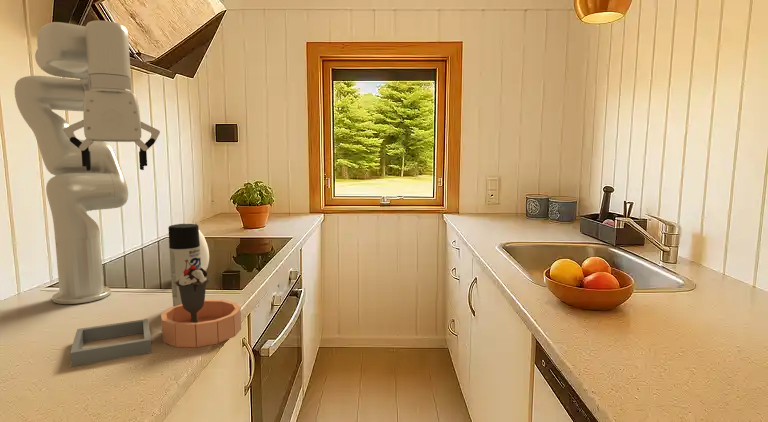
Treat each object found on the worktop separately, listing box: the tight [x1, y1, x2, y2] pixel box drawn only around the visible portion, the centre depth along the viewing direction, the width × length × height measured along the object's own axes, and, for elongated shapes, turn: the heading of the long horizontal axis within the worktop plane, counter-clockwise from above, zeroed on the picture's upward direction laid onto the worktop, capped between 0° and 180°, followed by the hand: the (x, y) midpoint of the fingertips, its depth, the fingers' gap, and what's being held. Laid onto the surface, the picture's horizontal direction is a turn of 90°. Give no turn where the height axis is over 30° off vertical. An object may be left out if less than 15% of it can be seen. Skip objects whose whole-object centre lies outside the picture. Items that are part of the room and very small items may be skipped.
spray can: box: [167, 223, 201, 307], centre depth 112 cm, size 7×7×20 cm
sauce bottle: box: [192, 217, 210, 272], centre depth 139 cm, size 8×8×18 cm
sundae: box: [175, 260, 211, 323], centre depth 96 cm, size 7×7×15 cm
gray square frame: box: [69, 318, 152, 367], centre depth 90 cm, size 12×12×2 cm
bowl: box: [160, 299, 242, 348], centre depth 97 cm, size 15×15×4 cm
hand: (116, 169), depth 98 cm, fingers open, 9 cm apart
